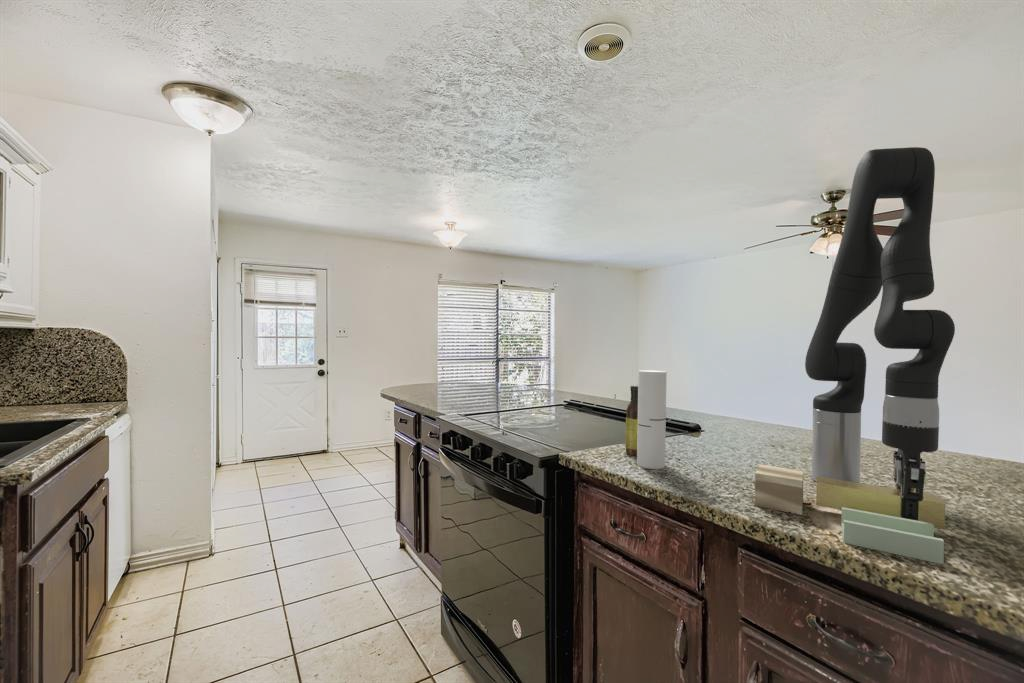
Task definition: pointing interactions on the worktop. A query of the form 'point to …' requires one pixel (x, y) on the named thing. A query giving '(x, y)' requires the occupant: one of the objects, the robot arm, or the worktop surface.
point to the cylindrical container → (651, 419)
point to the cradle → (892, 535)
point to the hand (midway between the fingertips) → (906, 515)
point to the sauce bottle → (632, 423)
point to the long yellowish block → (876, 500)
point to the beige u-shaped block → (779, 488)
